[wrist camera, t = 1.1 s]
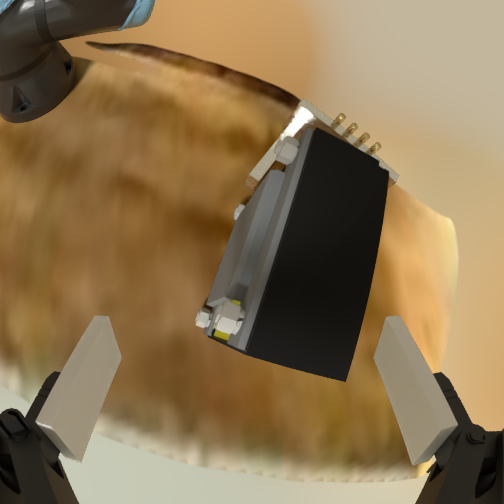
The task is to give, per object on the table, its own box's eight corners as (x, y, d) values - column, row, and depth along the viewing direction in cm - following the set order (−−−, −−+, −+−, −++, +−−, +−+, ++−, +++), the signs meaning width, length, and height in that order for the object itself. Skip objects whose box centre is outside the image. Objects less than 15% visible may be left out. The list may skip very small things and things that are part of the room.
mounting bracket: (241, 181, 43) (262, 143, 33) (283, 128, 46) (310, 87, 36) (338, 254, 44) (381, 236, 34) (368, 194, 48) (409, 168, 38)
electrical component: (237, 202, 42) (291, 114, 23) (305, 231, 44) (396, 171, 25) (190, 330, 37) (211, 343, 18) (267, 356, 39) (353, 383, 20)
